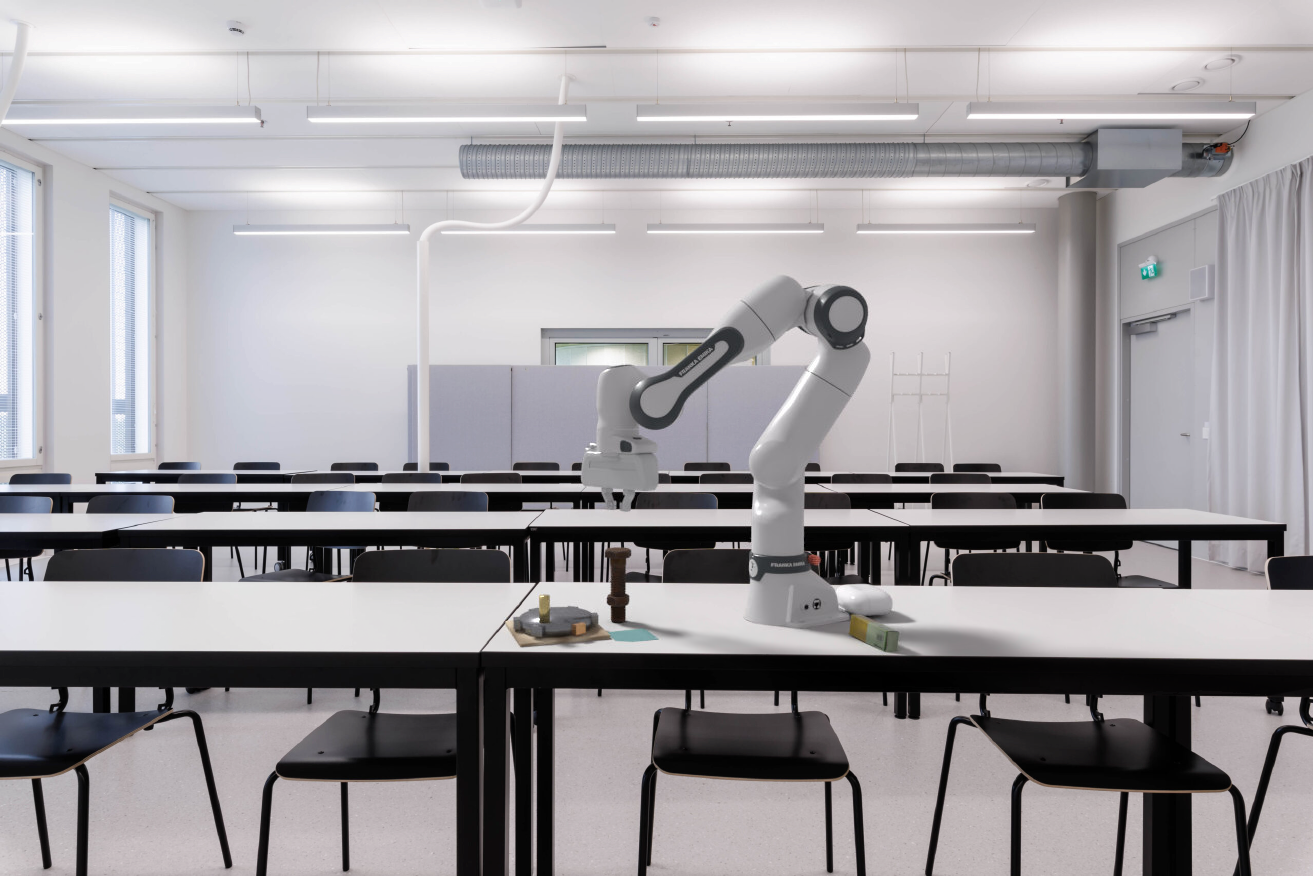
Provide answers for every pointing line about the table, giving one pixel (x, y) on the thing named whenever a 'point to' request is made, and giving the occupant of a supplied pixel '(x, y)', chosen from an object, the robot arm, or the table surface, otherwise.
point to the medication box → (874, 633)
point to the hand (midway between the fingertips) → (618, 510)
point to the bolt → (618, 582)
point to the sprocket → (554, 620)
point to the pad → (632, 635)
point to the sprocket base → (527, 640)
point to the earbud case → (864, 599)
